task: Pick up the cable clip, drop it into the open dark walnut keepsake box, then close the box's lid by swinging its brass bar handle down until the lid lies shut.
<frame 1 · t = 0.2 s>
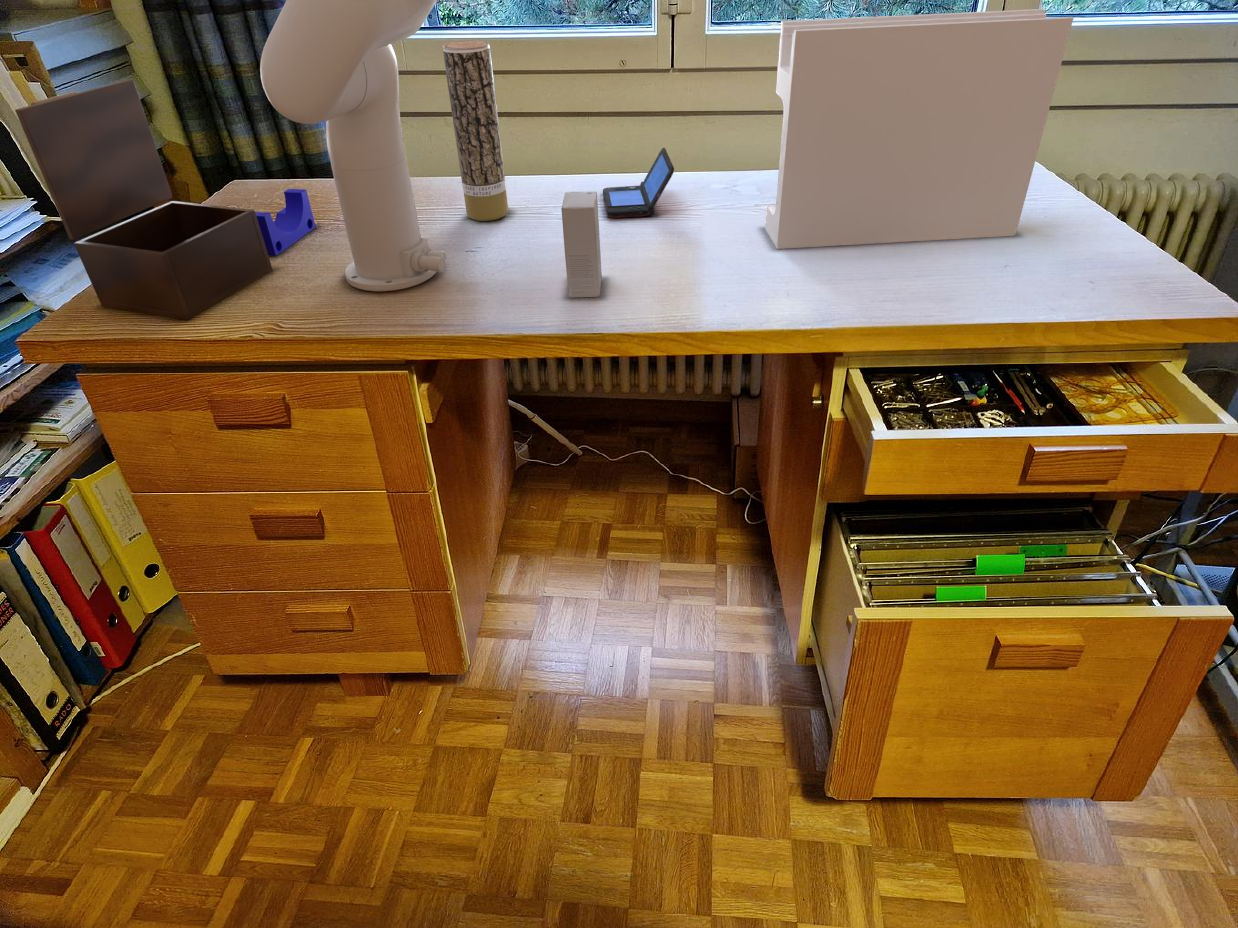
keepsake box: (190, 287, 112), on the table
handheld game console: (637, 206, 134), on the table
block: (887, 233, 121), on the table
lid: (88, 156, 105), point 17 cm above the table, hinge at 88.0°
cosmetic box: (585, 290, 108), on the table
cable clip: (283, 241, 126), on the table
paper tube: (488, 216, 132), on the table
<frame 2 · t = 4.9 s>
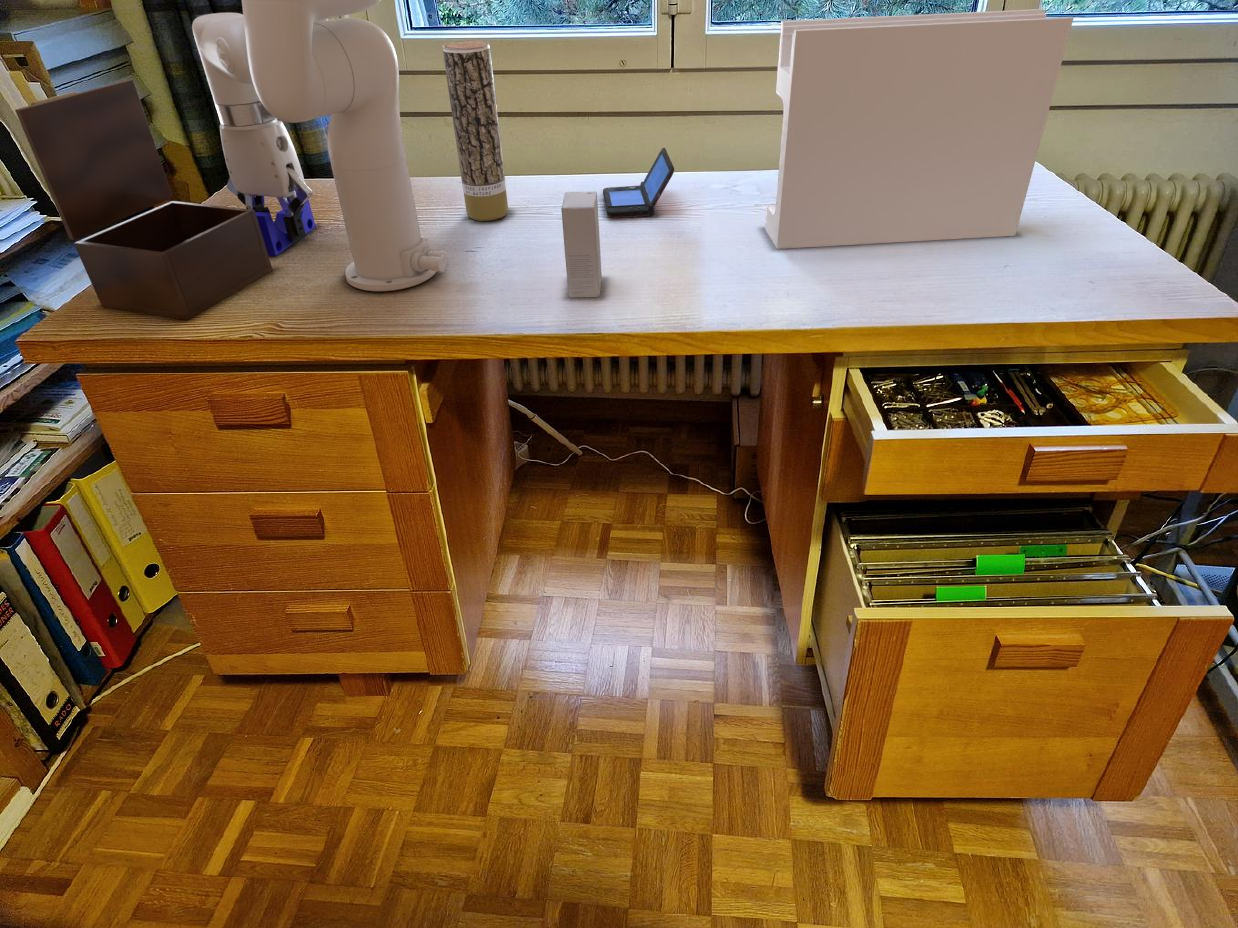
hand: (282, 236, 125), 1 cm above the table, tool pointing down, fingers closed on cable clip, 5 cm apart
cable clip: (283, 241, 126), on the table, touching gripper
everything else where it was.
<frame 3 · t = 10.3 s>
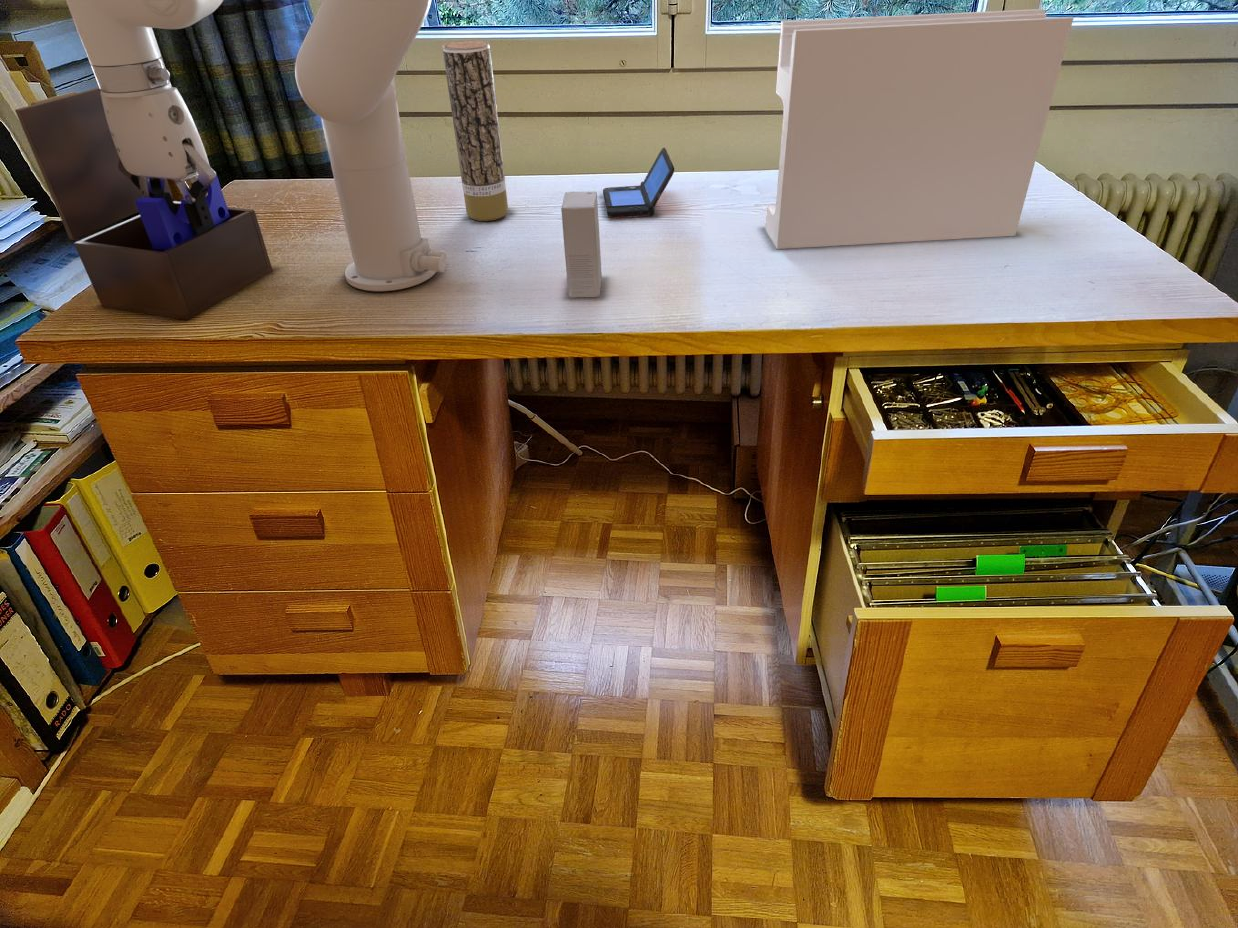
hand: (186, 227, 106), 9 cm above the table, tool pointing down, fingers closed on cable clip, 5 cm apart
cable clip: (188, 233, 107), point 8 cm above the table, touching gripper
everything else where it was.
when the fingers open (9 cm above the table, at t = 12.6 s): cable clip drops 8 cm, resting on keepsake box.
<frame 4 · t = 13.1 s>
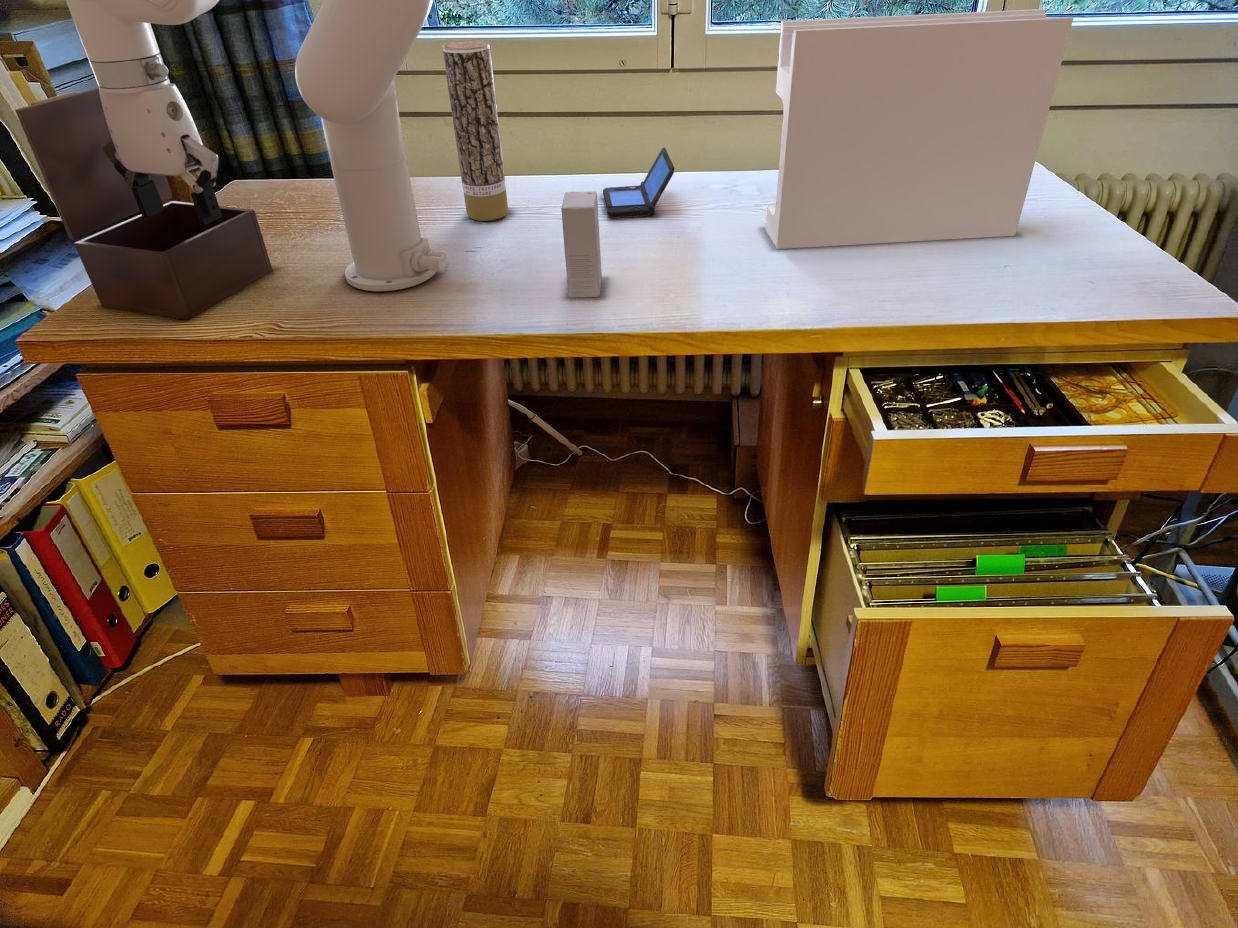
hand: (182, 217, 105), 10 cm above the table, tool pointing down, fingers open, 9 cm apart
cable clip: (206, 286, 111), point 1 cm above the table, touching keepsake box
everything else where it was.
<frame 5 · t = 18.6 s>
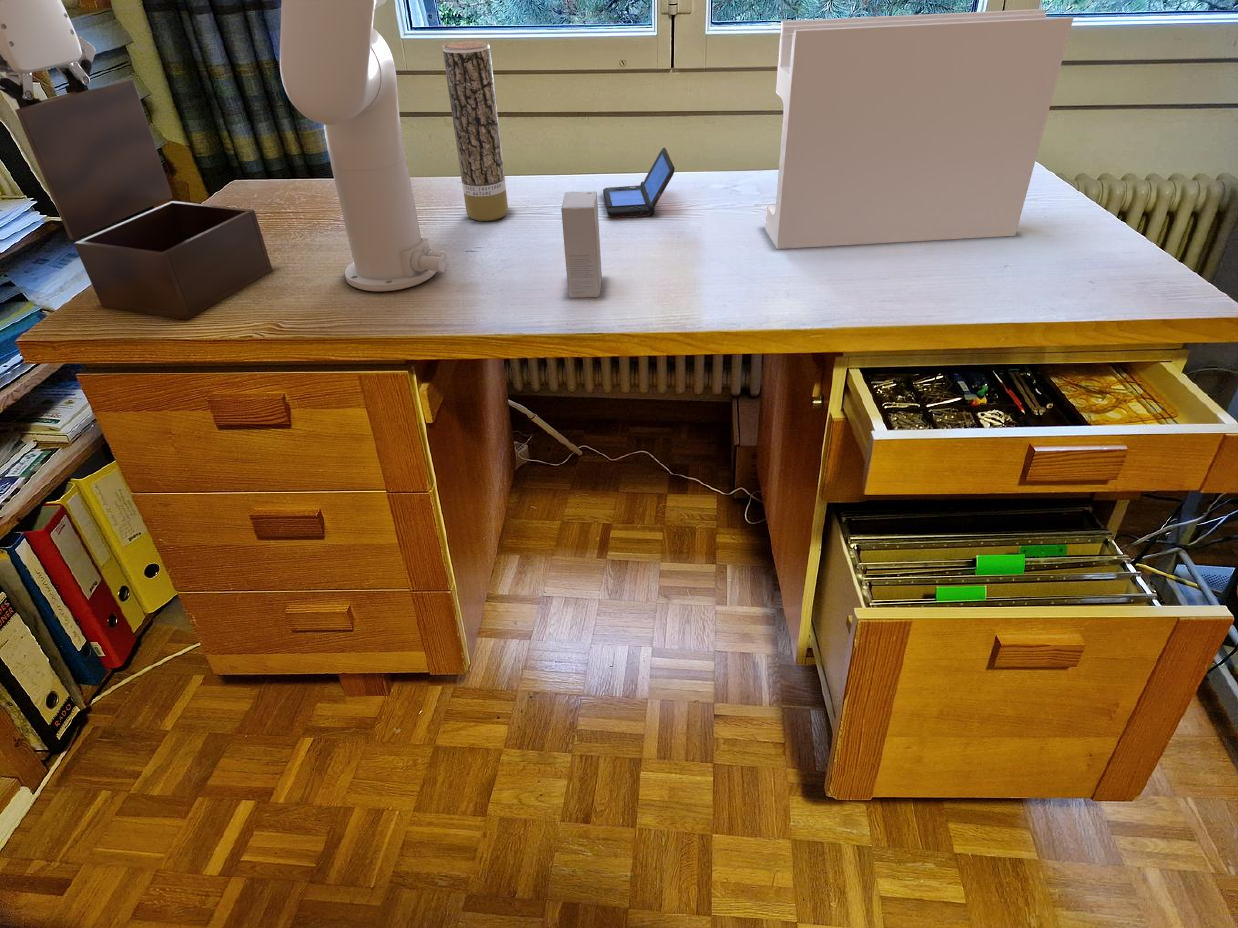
hand: (65, 124, 103), 21 cm above the table, tool pointing down, fingers closed on lid, 6 cm apart
lid: (88, 156, 105), point 17 cm above the table, hinge at 88.0°, touching gripper
everything else where it was.
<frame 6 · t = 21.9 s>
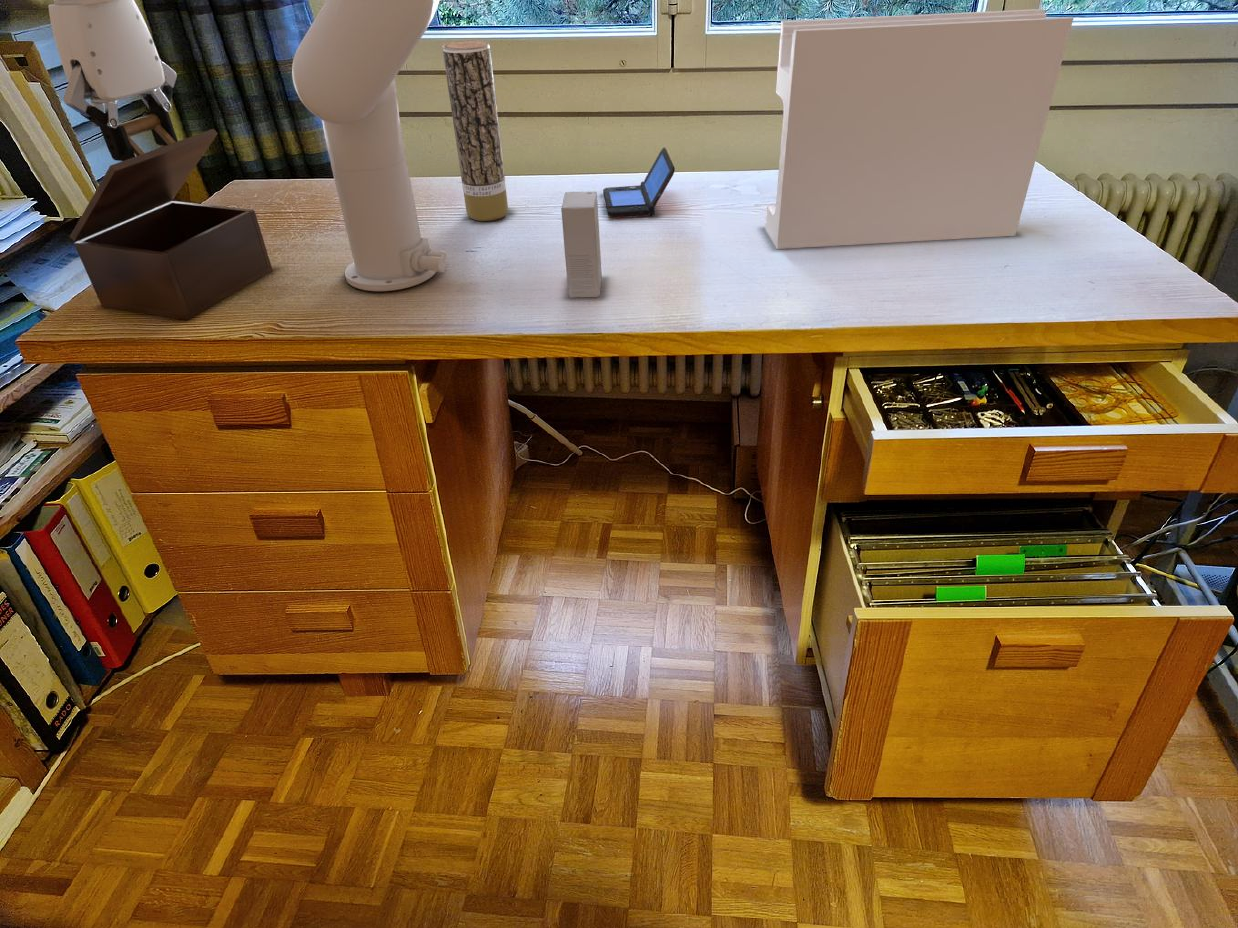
hand: (146, 151, 101), 18 cm above the table, tool pointing down, fingers closed on lid, 6 cm apart
lid: (130, 169, 104), point 16 cm above the table, hinge at 38.8°, touching gripper
everything else where it was.
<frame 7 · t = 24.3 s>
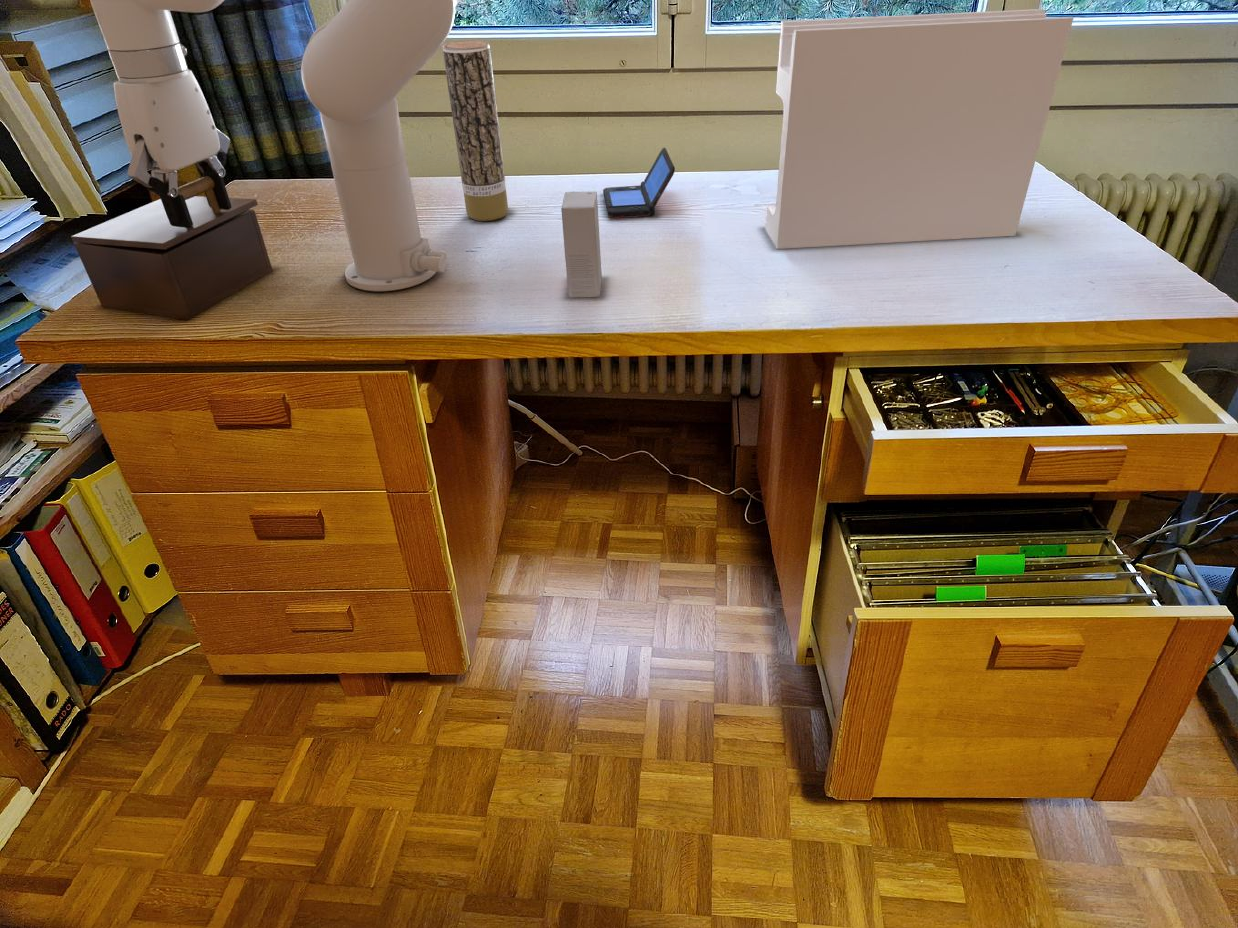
hand: (201, 215, 104), 11 cm above the table, tool pointing down, fingers closed on lid, 6 cm apart
lid: (160, 202, 105), point 12 cm above the table, hinge at 2.5°, touching gripper
everything else where it was.
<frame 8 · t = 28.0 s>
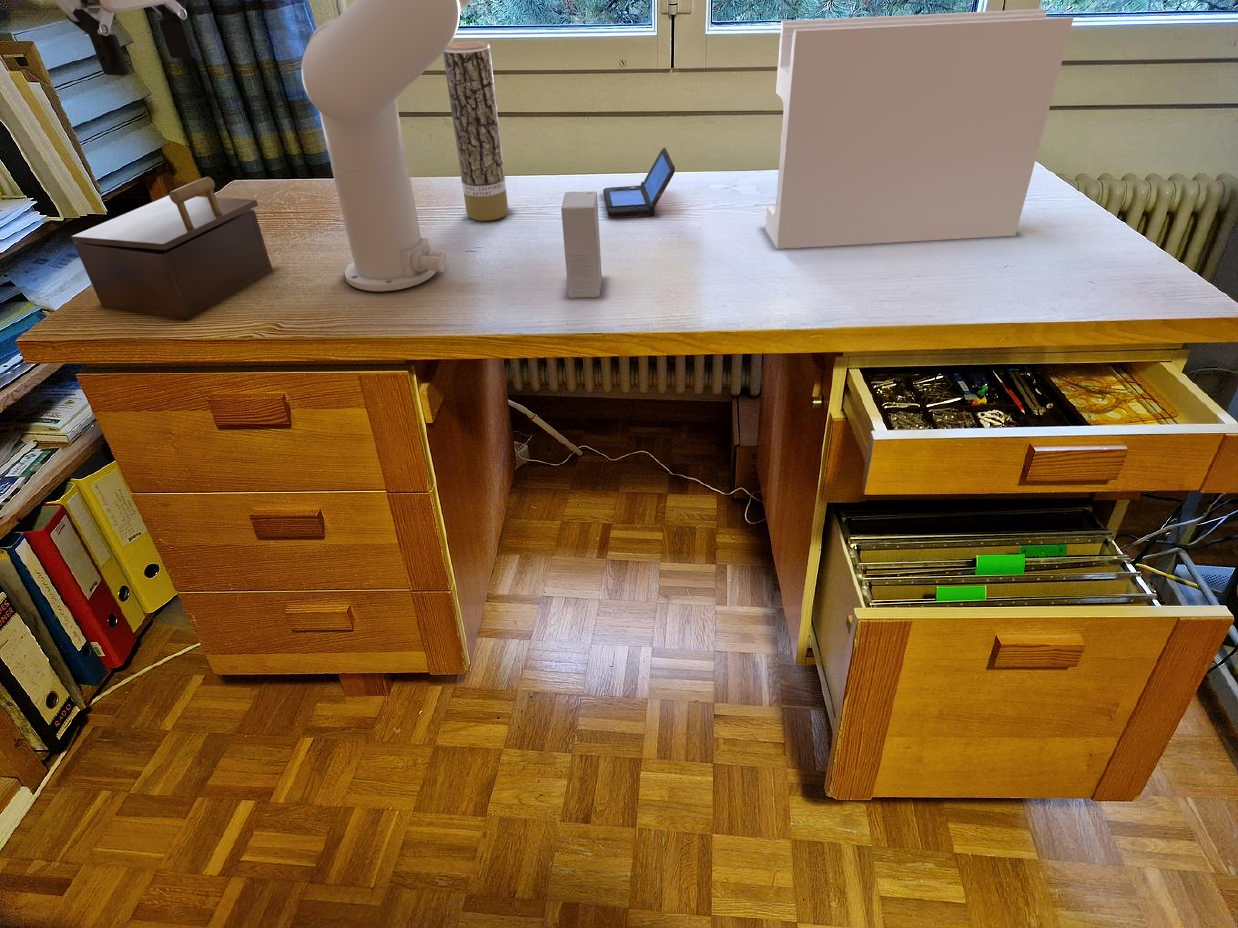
hand: (151, 66, 93), 28 cm above the table, tool pointing down, fingers open, 9 cm apart
lid: (160, 203, 105), point 12 cm above the table, hinge at 2.2°
everything else where it was.
at the end: cable clip inside the target area in the keepsake box (3.1 cm from its centre), point 0.6 cm above the keepsake box's base; lid at +2° (first picture: +88°) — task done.
